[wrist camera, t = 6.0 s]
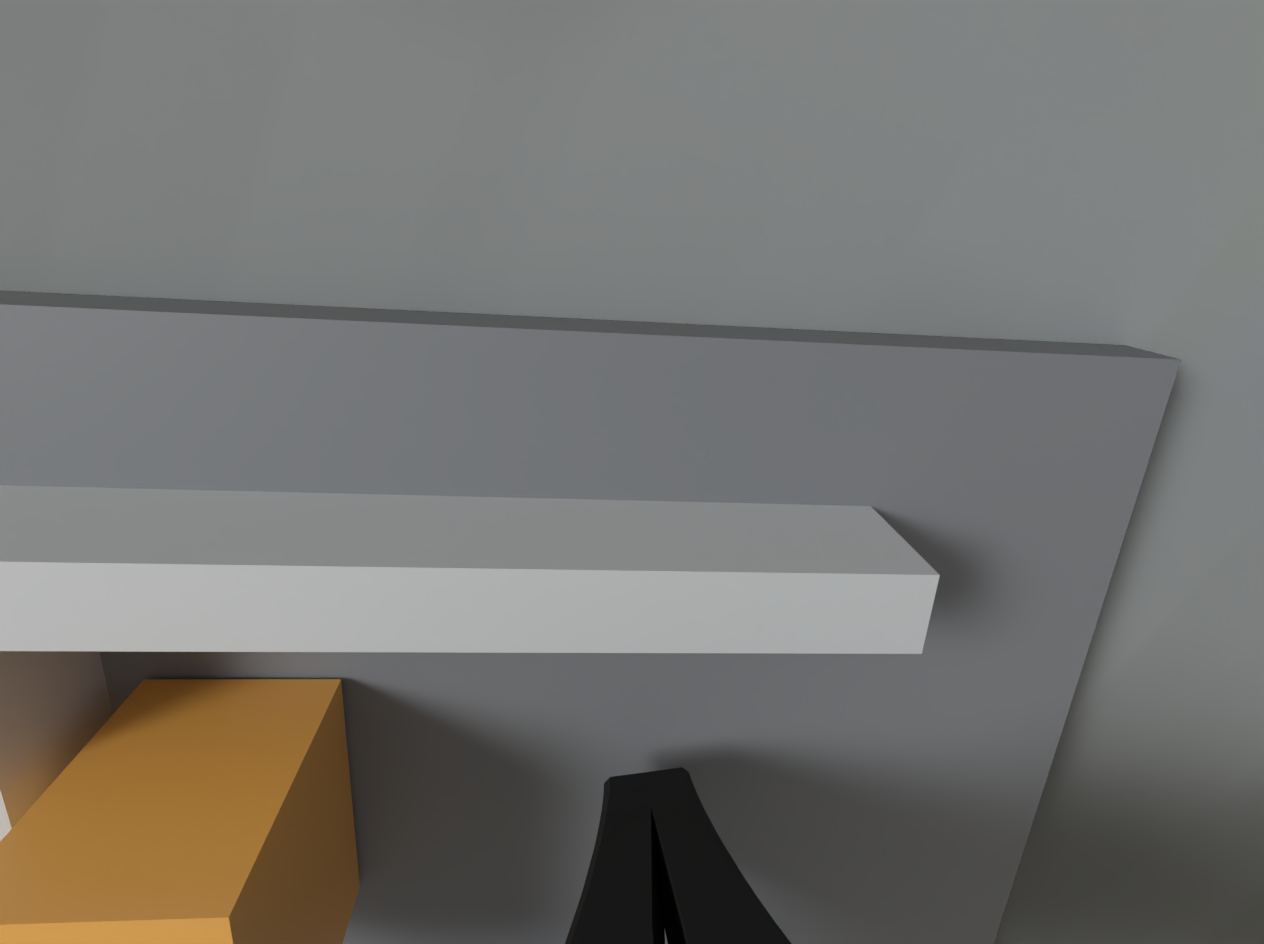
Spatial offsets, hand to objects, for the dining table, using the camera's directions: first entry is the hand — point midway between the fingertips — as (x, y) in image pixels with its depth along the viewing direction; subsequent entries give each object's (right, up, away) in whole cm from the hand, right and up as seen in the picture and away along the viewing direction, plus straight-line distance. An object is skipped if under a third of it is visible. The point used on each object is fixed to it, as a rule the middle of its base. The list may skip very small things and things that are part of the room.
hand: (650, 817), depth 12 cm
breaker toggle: (-7, 0, 0) cm, 7 cm away
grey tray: (-1, +1, +2) cm, 2 cm away
